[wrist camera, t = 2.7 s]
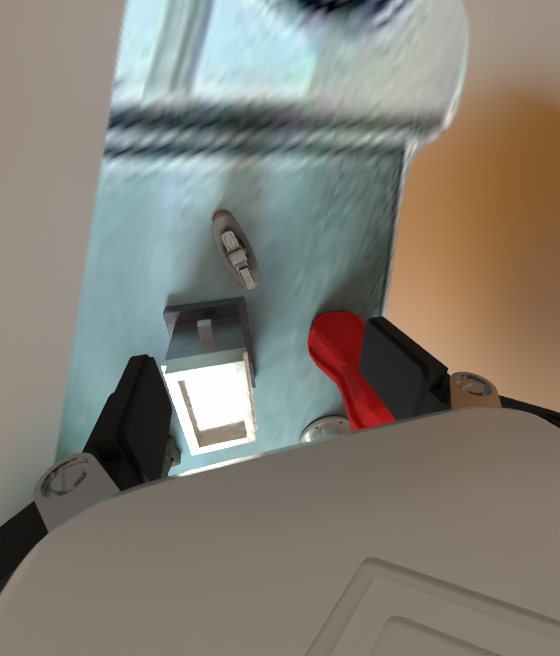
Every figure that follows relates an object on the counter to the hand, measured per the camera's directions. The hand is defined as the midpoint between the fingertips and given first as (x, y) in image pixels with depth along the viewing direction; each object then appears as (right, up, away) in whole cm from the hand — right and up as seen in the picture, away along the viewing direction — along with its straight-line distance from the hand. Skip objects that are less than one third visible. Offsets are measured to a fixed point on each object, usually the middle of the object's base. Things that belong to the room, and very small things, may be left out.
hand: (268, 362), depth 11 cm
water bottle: (+10, +1, +33) cm, 35 cm away
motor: (-10, -2, +30) cm, 31 cm away
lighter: (-6, +13, +23) cm, 27 cm away
